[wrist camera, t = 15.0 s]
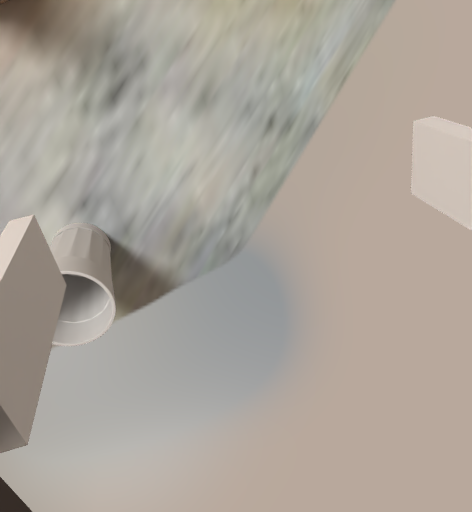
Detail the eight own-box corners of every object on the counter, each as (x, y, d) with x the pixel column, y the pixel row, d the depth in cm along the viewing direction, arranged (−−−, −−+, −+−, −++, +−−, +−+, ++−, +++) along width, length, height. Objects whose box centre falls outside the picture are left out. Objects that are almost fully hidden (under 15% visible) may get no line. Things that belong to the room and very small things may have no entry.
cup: (111, 211, 47) (106, 264, 36) (124, 273, 50) (122, 338, 40) (34, 220, 45) (6, 278, 35) (53, 283, 49) (33, 353, 39)
